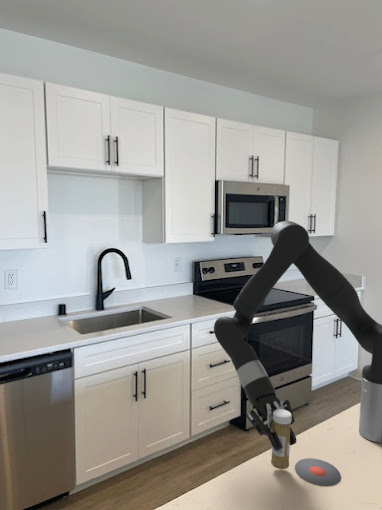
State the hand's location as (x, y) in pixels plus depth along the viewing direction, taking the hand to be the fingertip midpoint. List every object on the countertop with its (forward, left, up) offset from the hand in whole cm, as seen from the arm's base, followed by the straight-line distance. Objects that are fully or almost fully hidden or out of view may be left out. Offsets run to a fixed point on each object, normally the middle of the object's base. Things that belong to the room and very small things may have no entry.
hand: (286, 446), depth 95 cm
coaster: (-8, +3, -7) cm, 11 cm away
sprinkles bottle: (0, -2, -6) cm, 6 cm away
